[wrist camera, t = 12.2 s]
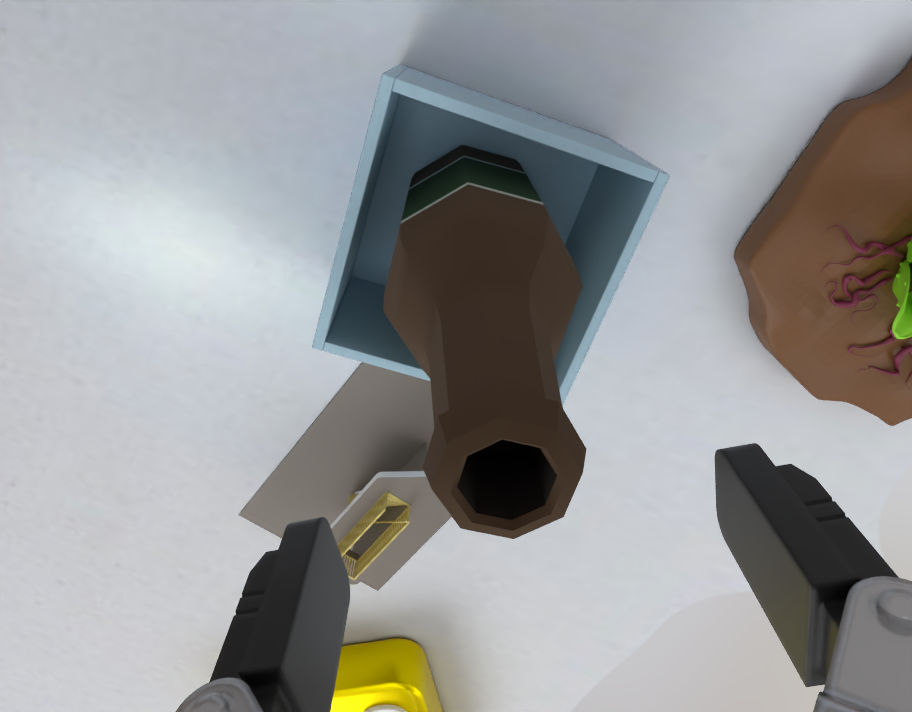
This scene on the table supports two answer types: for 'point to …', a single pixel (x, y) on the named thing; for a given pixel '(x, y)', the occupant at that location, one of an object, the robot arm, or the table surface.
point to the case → (549, 170)
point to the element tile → (384, 678)
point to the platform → (362, 475)
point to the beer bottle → (488, 340)
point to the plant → (842, 258)
